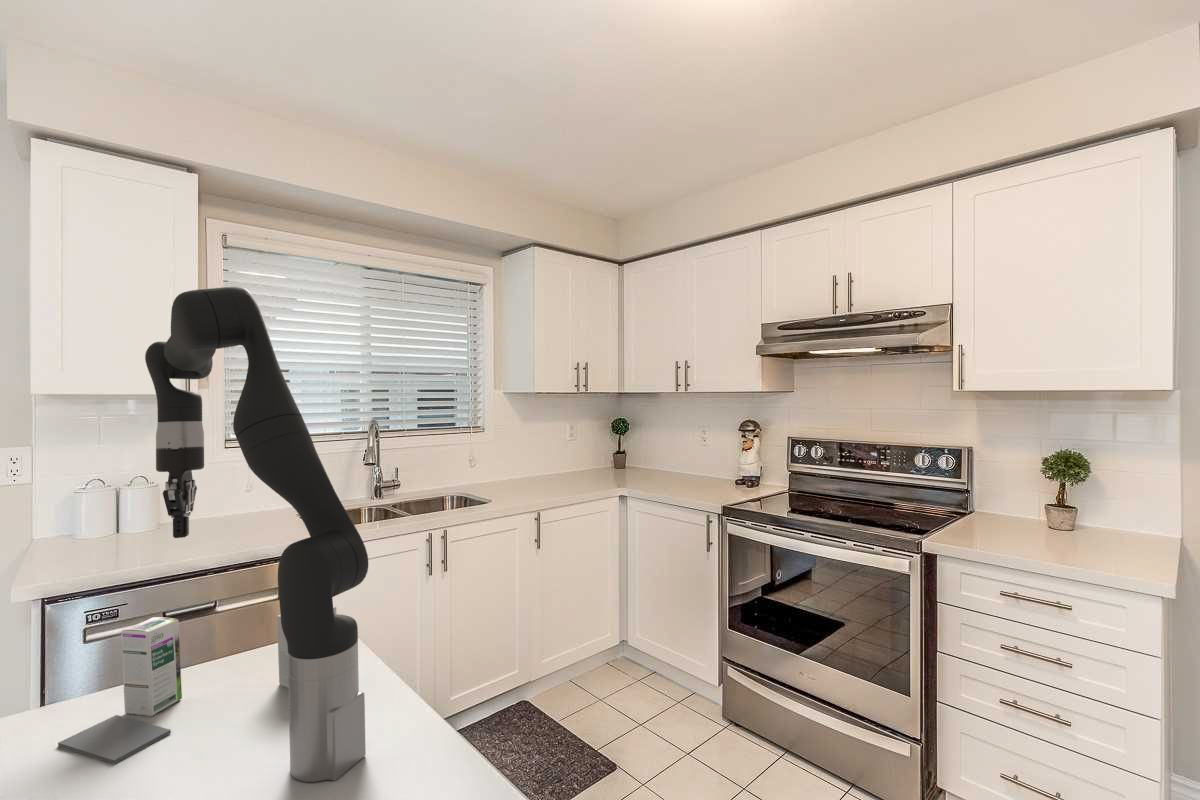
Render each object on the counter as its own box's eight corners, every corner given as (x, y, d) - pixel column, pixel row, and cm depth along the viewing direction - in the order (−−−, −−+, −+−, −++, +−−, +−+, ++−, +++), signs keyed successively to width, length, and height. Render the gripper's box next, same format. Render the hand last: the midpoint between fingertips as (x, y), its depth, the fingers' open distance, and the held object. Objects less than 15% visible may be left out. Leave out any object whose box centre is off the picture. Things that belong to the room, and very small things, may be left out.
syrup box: (151, 717, 97) (149, 631, 97) (122, 714, 98) (120, 628, 98) (182, 699, 103) (180, 617, 102) (154, 696, 104) (152, 615, 104)
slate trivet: (170, 733, 93) (170, 729, 93) (114, 764, 85) (114, 760, 85) (116, 718, 97) (116, 714, 97) (58, 746, 89) (58, 742, 89)
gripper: (167, 446, 117) (167, 534, 116) (144, 447, 104) (145, 545, 103) (211, 444, 119) (212, 530, 118) (194, 444, 107) (195, 540, 106)
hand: (180, 537), depth 111 cm, fingers closed
